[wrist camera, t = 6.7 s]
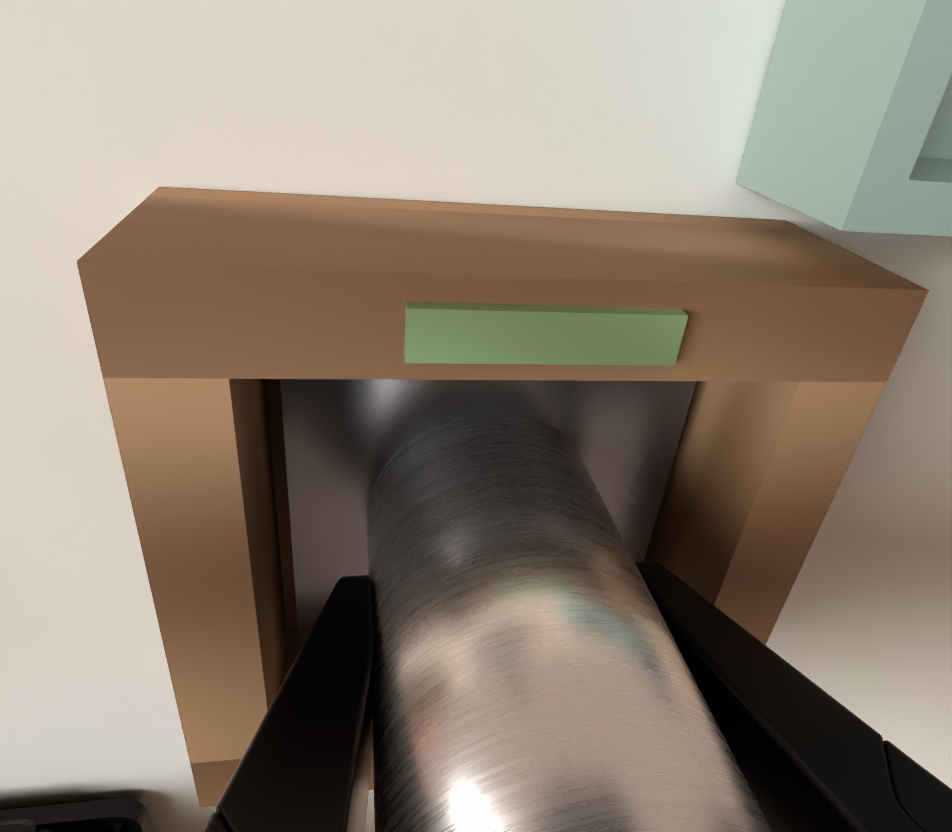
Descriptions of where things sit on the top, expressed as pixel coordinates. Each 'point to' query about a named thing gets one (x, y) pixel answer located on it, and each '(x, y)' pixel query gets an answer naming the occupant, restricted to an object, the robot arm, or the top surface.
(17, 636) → the top surface
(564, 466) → the steel cell
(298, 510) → the plate
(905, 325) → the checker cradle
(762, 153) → the trough tray
